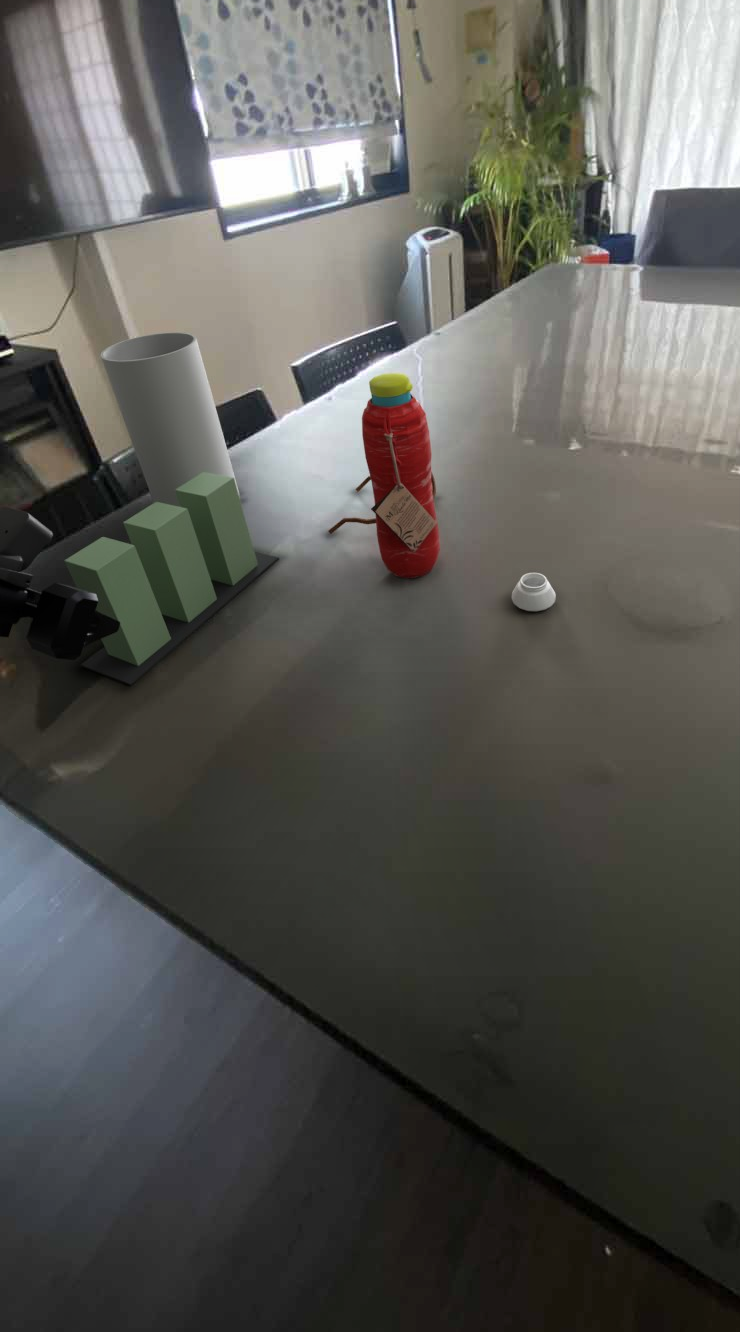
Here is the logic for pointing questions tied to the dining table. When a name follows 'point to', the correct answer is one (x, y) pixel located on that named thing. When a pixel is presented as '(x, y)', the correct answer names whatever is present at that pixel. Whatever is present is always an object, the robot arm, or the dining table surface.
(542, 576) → the white jar
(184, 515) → the middle block
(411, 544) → the water bottle
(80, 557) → the block
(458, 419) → the dining table surface
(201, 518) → the far block
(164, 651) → the mat
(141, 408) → the cylinder vase
